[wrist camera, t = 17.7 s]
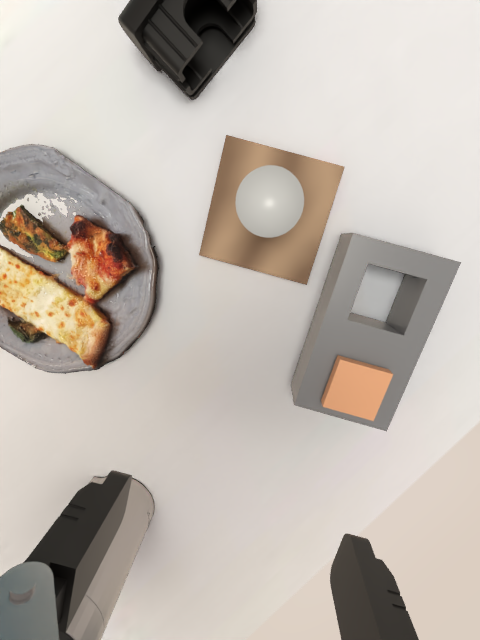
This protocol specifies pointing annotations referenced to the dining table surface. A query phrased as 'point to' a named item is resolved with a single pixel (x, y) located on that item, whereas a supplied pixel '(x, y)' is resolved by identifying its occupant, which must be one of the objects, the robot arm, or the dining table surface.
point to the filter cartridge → (269, 201)
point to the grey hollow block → (371, 322)
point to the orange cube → (356, 388)
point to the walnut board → (277, 252)
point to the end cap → (188, 36)
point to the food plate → (71, 266)
